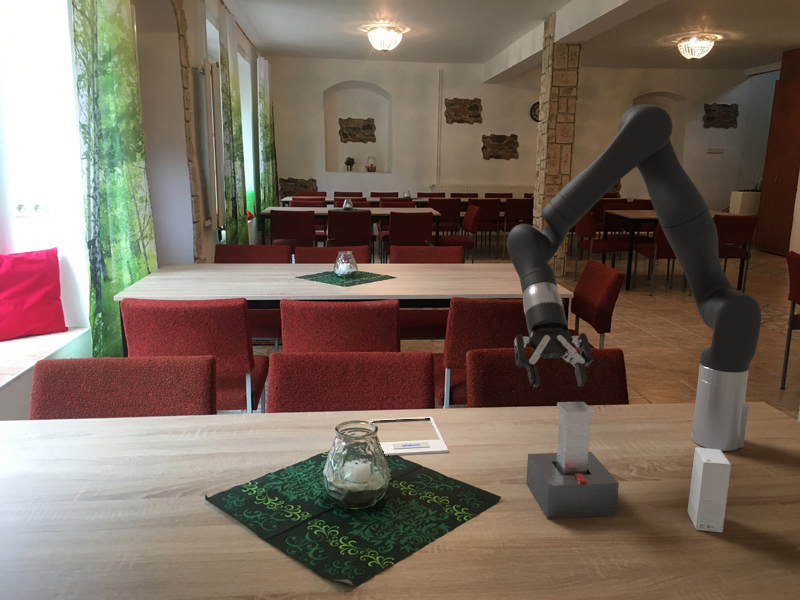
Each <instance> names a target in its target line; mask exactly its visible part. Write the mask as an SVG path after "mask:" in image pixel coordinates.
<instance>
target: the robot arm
mask: <svg viewBox="0 0 800 600" xmlns="http://www.w3.org/2000/svg"><path fill="white" fill-rule="evenodd" d="M672 133H673V120H672V118H671V116H670V114H669V113H668V112H667V111H666V110H665V109H664V108H663V107H660V106H657V105H655V104H648V103H641V104H637V105H633V106H630V108H628V109H627V110H626V111H625V112H624V113H623V114H622V116H621V117H620V119H619V122H618V125H617V134H616V135H615V137H614V138H613V140H612V141H611V142H610V143H609V145H608V146H607V148H605V150H604V151H603V152H602V153H601V154H599V156H598V157H596V158H595V160H594V161H593V162H592V163H590V164H589V165H588V166H587V167H586V168H585V169H584V170H582V171H580V172H579V173H578V174H577V175H576V176H575V177H573V178H572V179H571V180H570V181H569V182H568V183H567V184H566V185H564V186H563V188H561V190H559V192H558V193H557V194H555V196H553V198H552V199H551V200H550V201H549V202H548V203H547V204H545V206H544V208H543V209H542V211H541V217H542V218H543V220H544V221H545V222H546V223H545V225H544V227H543V229H542V231H540V230H539V229H538V228H536V227H534V226H532V225H530V224H527V223H520V224H518V225H515V226H514V227H512V229H511V230H510V232H509V233H508V236H507V240H506V241H507V242H506V248H507V253H508V256H509V258H510V260H511V263H512V265H513V268H514V269H515V271H516V273H517V275H518V277H519V278H518V279H519V283H520V287H521V293H522V303H523V304H522V305H523V313H524V316H525V321H526V326H527V331H528V335H529V336H525V335H524V336H523V334H522V333H517V334H516V336H515V338H514V339H513V346H514V357H515V366H516V367H518V368H525V369H526V371H527V376H528V381H529V383H530V385H533V388H539V386H540V385H541V379H540V375H539V369H538V364H536V363H537V362H538V360H539V359H540V358H543V359H561V358H562V359H563V360H564V361H565V362H567V363H570V365H572V366H573V367H574V374H575V379H576V383H577V387H580V388H581V387H582V388H584V386H585V385H586V383H587V381H588V375H587V370H586V367H589V366H590V364H591V363H592V362H593V361H594V355H593V352H592V349H591V346H590V342H589V339H588V337H587V334H586V333H584V332H581V333H580V334H579V335H572V334H571V333H570V331H569V327H568V322H567V316H566V313H565V309H564V304H563V299H562V297H561V294H560V291H559V289H558V284H557V279H556V275H555V272H554V270H553V267H552V266H551V265H550V264H549V263H548V262H550V261H551V260H552V259H553V257H554V256H555V255H556V253H557V252H558V250H559V248H560V247H561V245H562V243H563V242H564V240H565V239H566V236H567V235H568V234H569V231H570V230H571V229H572V228H573V227H574V226H575V225H576V224H577V223H578V222H579V221H580V220H581V219H582V218H583V217H584V216H585V215H586V214H587V213H588V212H589V211H590V210H591V209H592V208H593V207H594V206H595V205H596V204H597V203H598V202H599V201H600V199H602V198H603V197H604V196H605V194H606V193H607V192H609V191H610V190H611V188H613V187H614V186H615V185H616V184H617V183H618V182H619V181H620V180H621V179H623V178H624V177H625V176H626V175H627V174H628V173H630V172H631V171H632V170H634V168H635V167H636V168H637V169H638V171H639V173H640V175H641V177H642V179H643V181H644V184H645V188H646V190H647V193H648V196H649V199H650V202H651V204H652V207H653V210H654V212H655V215H656V217H657V219H658V222H659V225H660V228H661V230H662V231H663V234H664V236H665V238H666V240H667V242H668V244H669V245H670V247H671V249H672V251H673V253H674V256H675V258H676V259H677V261H678V264H679V266H680V268H681V269H682V271H683V273H684V275H685V277H686V279H687V282H688V285H689V286H690V290H691V292H692V293H691V294H692V295H693V299H694V302H695V303H694V304H695V305H696V309H697V311H698V314H699V316H700V318H701V320H702V322H703V323H704V324H705V325H706V326H707V327H708V328H710V329H711V330H713V334H712V339H711V342H710V343H711V344H710V346H709V347H706V348H704V349H702V351H701V352H700V360H699V367H698V368H699V369H698V378H697V385H696V386H697V387H696V395H695V403H694V405H695V406H694V413H693V414H694V415H693V420H692V422H693V423H692V430H691V441H693V442H694V444H697V445H698V446H701V447H702V448H709V449H719V450H721V451H722V452H730V451H735V450H738V449H739V448H744V447H745V446H744V445H745V439H746V431H747V423H748V415H749V409H750V407H749V406H750V405H749V403H747V402H746V395H747V387H748V380H749V379H748V378H749V370H750V364H751V361H752V360H753V359H754V357H755V355H756V352H757V347H758V341H759V335H760V331H761V324H762V309H761V306H760V304H759V302H758V300H757V299H756V298H754V297H752V296H751V295H749V294H746V293H743V292H741V291H738V290H736V289H735V288H734V287H733V286H732V284H731V283H730V281H729V279H728V277H727V274H726V273H725V271H724V268H723V267H722V264H721V261H720V256H719V235H718V229H717V225H716V223H715V220H714V218H713V216H712V214H711V212H710V209H709V207H708V206H707V205H708V204H707V203H706V202H705V200H704V198H703V195H701V192H700V191H699V189H698V187H697V186H696V185H695V183H694V182H693V181H692V179H691V177H690V176H689V175H688V173H687V172H686V171H685V169H684V167H682V165H681V162H680V161H679V159H678V157H677V155H676V152H675V149H674V146H673V143H672V141H671V136H672ZM572 343H573V344H574V346H575V347H576V348H578V350H577V349H576V348H575V347H574V346H573V345H572ZM527 344H528V345H529V346H530V347H531V348H532V349H533V350H534V352H533V353H532V355H531V357H530V358H528V357H527V358H526V353H525V352H526V351H525V348H526V347H527ZM578 351H579V353H578Z"/></svg>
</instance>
